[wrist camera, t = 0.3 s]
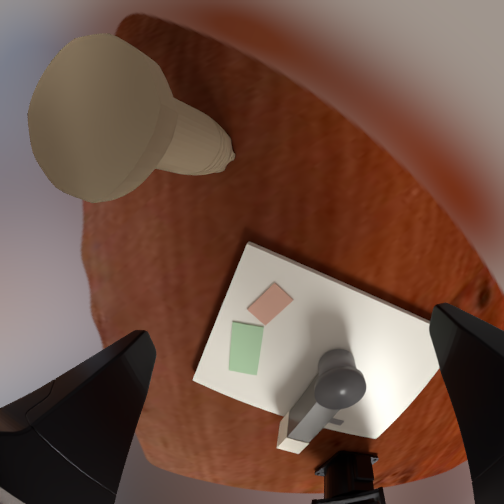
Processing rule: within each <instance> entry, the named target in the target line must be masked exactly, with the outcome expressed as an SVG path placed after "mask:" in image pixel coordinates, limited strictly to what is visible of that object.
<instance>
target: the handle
mask: <svg viewBox="0 0 504 504" xmlns="http://www.w3.org/2000/svg"><path fill="white" fill-rule="evenodd" d="M28 126H29V135H30V142H31V146H32V151H33V154H34V156H35V158H36V160H37V162H38V164H39V166H40V167H41V169H42V170H43V172H44V173H45V175H46V176H47V178H48V179H49V180H50V181H51V183H52V184H53V185H54V186H55V187H56V188H58V189H59V190H61V191H62V192H64V193H67V194H69V195H72V196H74V197H77V198H80V199H82V200H85V201H88V202H91V203H97V202H104V201H110V200H114V199H117V198H119V197H122V196H124V195H126V194H128V193H129V192H131V191H133V190H135V189H136V188H137V187H138V186H139V185H140V184H141V183H142V182H144V181H145V180H146V178H147V177H148V176H149V175H150V174H151V173H152V171H153V170H154V169H155V168H156V169H161V170H165V171H169V172H174V173H178V174H185V175H206V174H211V173H214V172H216V173H219V172H222V171H224V170H225V167H226V166H227V164H228V163H229V162H230V161H232V160H234V158H235V153H234V152H233V150H232V144H231V138H230V137H229V135H228V134H227V133H226V132H225V131H224V130H223V128H222V127H221V126H220V125H219V124H218V123H216V122H215V121H214V120H213V119H212V118H210V117H209V116H208V115H206V114H204V113H203V112H201V111H199V110H197V109H195V108H193V107H191V106H189V105H187V104H185V103H183V102H181V101H179V100H177V99H175V98H173V95H172V92H171V90H170V87H169V85H168V82H167V80H166V78H165V76H164V74H163V72H162V70H161V68H160V66H159V65H158V64H157V63H156V62H154V61H153V60H152V59H151V58H149V57H148V56H147V55H145V54H144V53H142V52H141V51H139V50H138V49H136V48H135V47H133V46H132V45H130V44H128V43H127V42H125V41H124V40H122V39H120V38H119V37H117V36H114V35H111V34H94V35H88V36H83V37H79V38H75V39H74V40H72V41H71V42H70V43H68V44H67V45H66V46H65V47H64V48H63V49H62V50H60V52H59V53H58V54H57V55H56V56H55V57H54V59H53V60H52V61H51V63H50V64H49V66H48V67H47V69H46V70H45V71H44V73H43V75H42V77H41V78H40V80H39V82H38V84H37V86H36V88H35V91H34V93H33V96H32V99H31V102H30V106H29V110H28Z"/></svg>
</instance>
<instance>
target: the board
mask: <svg viewBox="0 0 504 504" xmlns="http://www.w3.org/2000/svg"><path fill="white" fill-rule="evenodd" d="M429 325H430V321H429V320H426V319H424V318H422V317H420V316H418V315H415V314H413V313H411V312H409V311H406V310H404V309H402V308H400V307H398V306H395V305H393V304H391V303H389V302H386V301H384V300H382V299H380V298H377V297H375V296H373V295H371V294H368V293H366V292H364V291H362V290H359V289H357V288H355V287H353V286H350V285H348V284H346V283H344V282H341V281H339V280H337V279H335V278H332V277H330V276H328V275H326V274H323V273H321V272H319V271H316V270H314V269H312V268H310V267H307V266H305V265H303V264H300V263H298V262H296V261H294V260H291V259H289V258H287V257H284V256H282V255H280V254H278V253H275V252H273V251H271V250H268V249H266V248H264V247H261V246H259V245H257V244H254V243H252V242H250V241H249V242H248V243H247V245H246V247H245V250H244V252H243V255H242V257H241V260H240V262H239V264H238V267H237V269H236V272H235V274H234V277H233V279H232V282H231V284H230V287H229V289H228V292H227V294H226V297H225V299H224V302H223V304H222V307H221V309H220V312H219V314H218V317H217V319H216V322H215V324H214V327H213V329H212V332H211V335H210V337H209V340H208V342H207V345H206V347H205V350H204V352H203V355H202V357H201V360H200V362H199V365H198V368H197V370H196V373H195V375H194V378H193V381H195V382H197V383H200V384H202V385H204V386H206V387H208V388H211V389H213V390H215V391H218V392H220V393H222V394H225V395H227V396H229V397H232V398H234V399H237V400H239V401H242V402H245V403H247V404H250V405H252V406H255V407H258V408H261V409H263V410H266V411H269V412H272V413H275V414H278V415H281V416H284V417H285V415H286V414H287V413H288V412H289V411H290V410H291V408H292V407H293V406H294V405H295V403H296V402H297V401H298V399H299V398H300V397H301V395H302V394H303V393H304V391H305V390H306V389H307V387H308V386H309V384H310V383H311V382H312V380H313V379H314V377H315V376H316V375H317V373H318V372H319V371H318V363H319V360H320V358H321V357H322V356H323V355H324V354H325V353H326V352H328V351H330V350H334V349H344V350H347V351H349V352H350V353H351V354H352V355H353V357H354V360H355V364H356V368H357V369H358V370H359V371H361V372H362V374H363V375H364V378H365V382H366V392H365V394H364V396H363V397H362V399H361V400H360V401H359V402H357V403H356V404H354V405H353V406H350V407H348V408H345V409H340V410H339V411H338V412H337V413H336V415H335V416H334V417H333V418H332V419H331V420H330V421H329V422H328V423H327V424H326V426H325V427H324V428H326V429H330V430H334V431H339V432H343V433H348V434H352V435H357V436H362V437H368V438H373V439H376V438H378V437H379V436H380V435H381V434H382V433H383V432H384V431H385V430H386V429H387V428H388V427H389V426H390V425H391V424H392V423H393V422H394V421H395V420H396V419H397V418H398V417H399V416H400V414H401V413H402V412H403V411H404V410H405V409H406V408H407V407H408V406H409V405H410V404H411V402H412V401H413V400H414V399H415V398H416V397H417V395H418V394H419V393H420V392H421V391H422V389H423V388H424V387H425V386H426V385H427V383H428V382H429V381H430V380H431V378H432V377H433V376H434V374H435V373H436V372H437V370H438V369H439V364H438V360H437V357H436V353H435V350H434V346H433V343H432V340H431V337H430V333H429Z"/></svg>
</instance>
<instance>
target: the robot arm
mask: <svg viewBox="0 0 504 504" xmlns="http://www.w3.org/2000/svg"><path fill="white" fill-rule="evenodd" d="M429 333H430V337H431V340H432V343H433V346H434V350H435V353H436V357H437V360H438V364H439V368H440V371H441V374H442V377H443V380H444V382H445V385H446V388H447V391H448V393H449V396H450V399H451V402H452V405H453V408H454V411H455V415H456V418H457V421H458V424H459V428H460V431H461V435H462V439H463V443H464V447H465V451H466V455H467V459H468V464H469V469H470V474H471V479H472V481H473V482H472V486H473V492H474V500H475V504H504V331H503V330H501V329H499V328H497V327H495V326H493V325H491V324H489V323H487V322H485V321H483V320H481V319H479V318H477V317H475V316H473V315H471V314H469V313H467V312H465V311H463V310H461V309H459V308H457V307H454V306H452V305H450V304H448V303H441V304H437V305H435V306H434V308H433V312H432V317H431V321H430V325H429ZM155 359H156V349H155V346H154V344H153V342H152V340H151V338H150V335H149V333H148V332H147V331H145V330H135V331H133V332H131V333H129V334H128V335H126V336H125V337H123V338H121V339H120V340H118V341H116V342H115V343H113V344H112V345H110V346H108V347H107V348H105V349H103V350H102V351H100V352H99V353H97V354H95V355H94V356H92V357H90V358H89V359H87V360H85V361H84V362H82V363H80V364H79V365H77V366H76V367H74V368H72V369H71V370H69V371H67V372H66V373H64V374H62V375H61V376H59V377H57V378H56V379H55V380H52V381H51V382H49V383H47V384H46V385H44V386H42V387H41V388H39V389H37V390H35V391H33V392H32V393H30V394H28V395H26V396H24V397H22V398H20V399H18V400H16V401H14V402H12V403H10V404H8V405H6V406H4V407H2V408H0V504H114V503H115V498H116V494H117V490H118V487H119V483H120V480H121V475H122V472H123V469H124V465H125V462H126V459H127V455H128V452H129V449H130V445H131V442H132V439H133V436H134V433H135V429H136V426H137V423H138V420H139V417H140V414H141V411H142V408H143V405H144V402H145V399H146V396H147V393H148V389H149V384H150V380H151V376H152V371H153V367H154V363H155ZM377 460H378V456H373V455H366V454H359V453H353V452H347V451H339V452H338V453H336V454H335V455H334V456H333V457H332V458H331V459H329V460H328V461H327V462H326V463H325V464H323V465H322V466H321V467H320V468H318V469H317V470H316V471H315V475H319V476H324V499H319V500H317V499H314V500H312V504H386V503H385V498H384V493H383V487H379V488H378V489H374V486H373V480H374V475H373V468H372V464H374V463H375V462H376V461H377Z"/></svg>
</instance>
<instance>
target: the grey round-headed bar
mask: <svg viewBox="0 0 504 504" xmlns="http://www.w3.org/2000/svg"><path fill="white" fill-rule="evenodd" d="M318 371H319V372H318V373H317V375H316V376H315V377H314V379H313V380H312V382H311V383H310V384H309V386H308V387H307V389H306V390H305V391H304V393H303V394H302V395H301V397H300V398H299V399H298V401H297V402H296V403H295V405H294V406H293V407H292V408H291V410H290V411H289V412H288V413H287V414H286V415H285V417H284V418H283V419H282V420H281V422H280V427H279V435H278V442H277V448H278V449H282V450H286V451H289V452H293V453H297V454H299V453H300V452H301V451H302V450H303V449H304V448H305V447H306V446H307V445H308V444H309V442H310V441H311V440H312V439H313V438H314V437H315V436H316V435H317V434H318V433H319V432H320V431H321V430H322V429H323V428H324V427H325V426H326V424H327V423H328V422H329V421H330V420H331V419H332V418H333V417H334V416H335V415H336V413H337V412H338V411H339V410H340V409H345V408H348V407H350V406H353V405H354V404H356V403H357V402H359V401H360V400H361V399H362V397H363V396H364V394H365V392H366V382H365V378H364V375H363V374H362V372H361V371H359V370H358V369H357V368H356V364H355V360H354V357H353V355H352V354H351V353H350V352H349V351H347V350H344V349H334V350H330V351H328V352H326V353H325V354H324V355H323V356H322V357H321V358H320V360H319V363H318Z"/></svg>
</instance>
